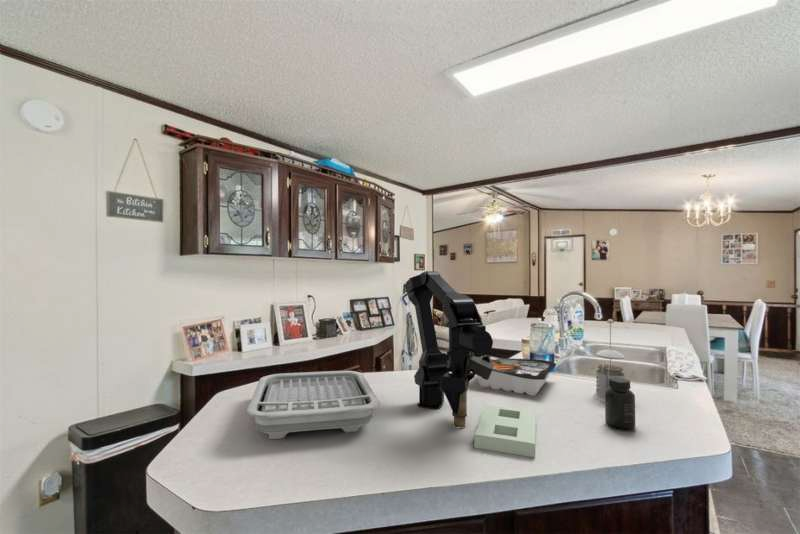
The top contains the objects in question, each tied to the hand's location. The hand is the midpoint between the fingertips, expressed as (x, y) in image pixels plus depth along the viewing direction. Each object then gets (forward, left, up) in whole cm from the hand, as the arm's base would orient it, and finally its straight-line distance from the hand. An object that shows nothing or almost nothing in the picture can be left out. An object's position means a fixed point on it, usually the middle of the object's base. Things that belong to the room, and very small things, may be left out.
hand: (459, 407), depth 98 cm
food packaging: (+11, +42, -5) cm, 43 cm away
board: (+12, -1, -5) cm, 13 cm away
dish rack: (-39, -7, -5) cm, 40 cm away
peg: (0, 0, -5) cm, 5 cm away
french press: (+40, +37, -5) cm, 55 cm away
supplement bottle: (+39, +15, -5) cm, 42 cm away
